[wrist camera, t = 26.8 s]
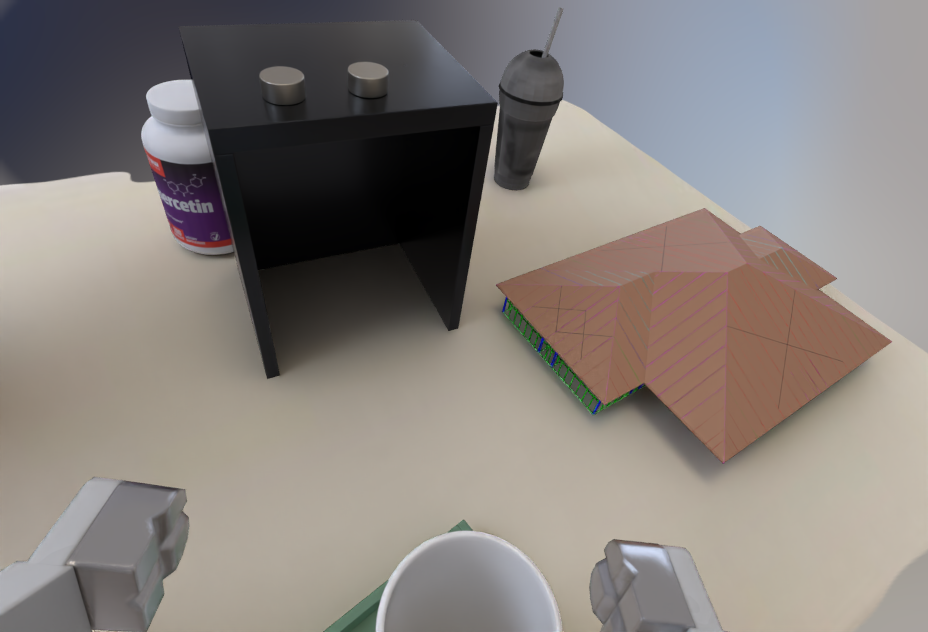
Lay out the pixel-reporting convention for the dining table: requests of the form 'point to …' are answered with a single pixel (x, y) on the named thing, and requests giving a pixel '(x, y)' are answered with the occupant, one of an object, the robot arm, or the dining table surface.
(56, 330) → the dining table surface
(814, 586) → the dining table surface
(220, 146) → the black coffee maker
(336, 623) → the tray
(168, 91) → the pill bottle
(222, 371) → the dining table surface
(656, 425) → the dining table surface
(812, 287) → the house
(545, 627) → the drinking glass
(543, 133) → the beverage cup
